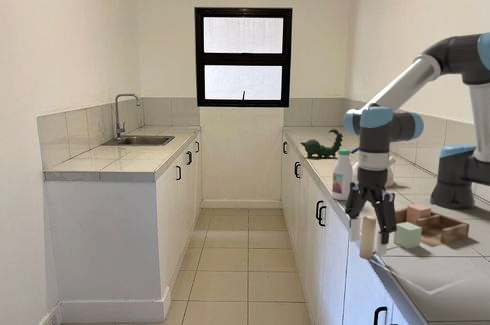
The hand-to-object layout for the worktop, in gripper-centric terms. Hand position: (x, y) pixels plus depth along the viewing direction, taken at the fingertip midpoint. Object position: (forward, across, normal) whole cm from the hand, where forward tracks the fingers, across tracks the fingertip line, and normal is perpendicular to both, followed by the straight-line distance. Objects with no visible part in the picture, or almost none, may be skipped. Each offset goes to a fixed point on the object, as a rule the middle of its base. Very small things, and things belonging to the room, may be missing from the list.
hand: (367, 247), depth 103 cm
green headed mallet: (+3, 0, +8) cm, 8 cm away
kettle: (+3, -57, +58) cm, 81 cm away
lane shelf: (+3, -4, +28) cm, 28 cm away
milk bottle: (+3, -44, +29) cm, 53 cm away
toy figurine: (+3, -114, +72) cm, 135 cm away
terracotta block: (+2, -9, +31) cm, 32 cm away
